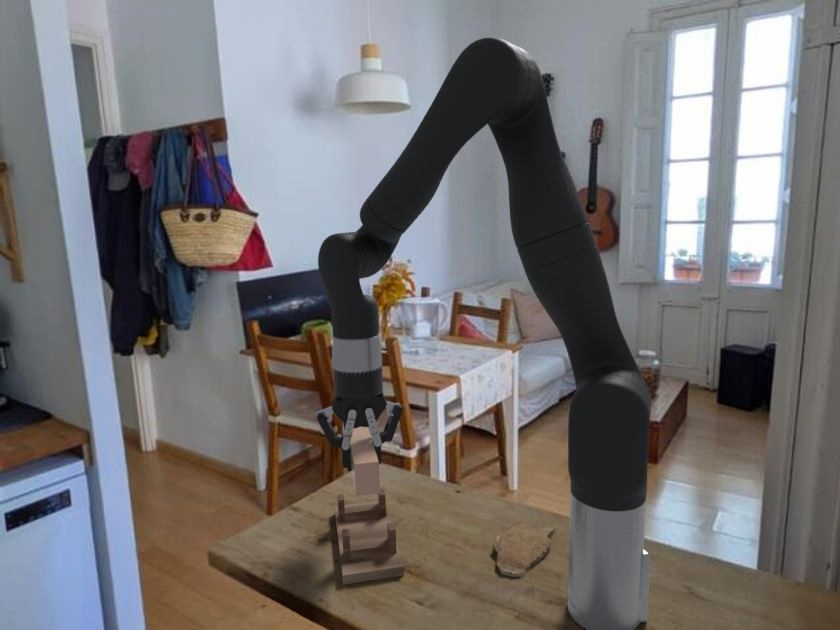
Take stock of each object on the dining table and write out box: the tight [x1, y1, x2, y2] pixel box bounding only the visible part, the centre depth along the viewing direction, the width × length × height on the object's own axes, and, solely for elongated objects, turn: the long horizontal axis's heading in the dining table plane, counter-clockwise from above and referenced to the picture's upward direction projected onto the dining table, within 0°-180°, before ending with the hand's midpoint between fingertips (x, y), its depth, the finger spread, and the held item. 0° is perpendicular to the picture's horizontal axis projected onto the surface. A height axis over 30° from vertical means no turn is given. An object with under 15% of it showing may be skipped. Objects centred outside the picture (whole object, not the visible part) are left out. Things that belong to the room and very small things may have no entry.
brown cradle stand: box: [334, 488, 405, 586], centre depth 95 cm, size 20×9×6 cm, turn 12°
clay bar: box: [350, 427, 381, 497], centre depth 92 cm, size 4×16×5 cm, turn 12°
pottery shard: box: [492, 520, 556, 578], centre depth 92 cm, size 8×3×15 cm
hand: (362, 467), depth 93 cm, fingers closed on clay bar, 3 cm apart
